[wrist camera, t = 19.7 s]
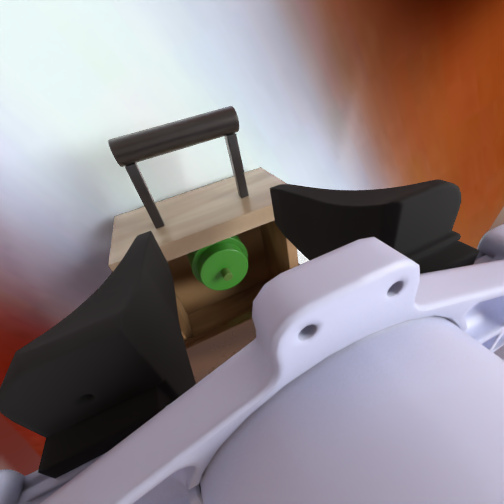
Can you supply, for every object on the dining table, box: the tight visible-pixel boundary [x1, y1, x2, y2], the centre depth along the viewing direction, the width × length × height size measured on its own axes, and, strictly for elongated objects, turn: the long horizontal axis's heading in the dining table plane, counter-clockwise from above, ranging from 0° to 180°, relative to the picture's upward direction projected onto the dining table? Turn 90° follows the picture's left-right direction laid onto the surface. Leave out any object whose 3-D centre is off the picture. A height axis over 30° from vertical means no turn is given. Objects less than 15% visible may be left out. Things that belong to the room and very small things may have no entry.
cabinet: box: [184, 263, 300, 384], centre depth 27 cm, size 14×14×9 cm
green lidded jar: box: [187, 235, 248, 291], centre depth 20 cm, size 5×5×5 cm
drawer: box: [108, 106, 298, 341], centre depth 20 cm, size 18×12×7 cm
